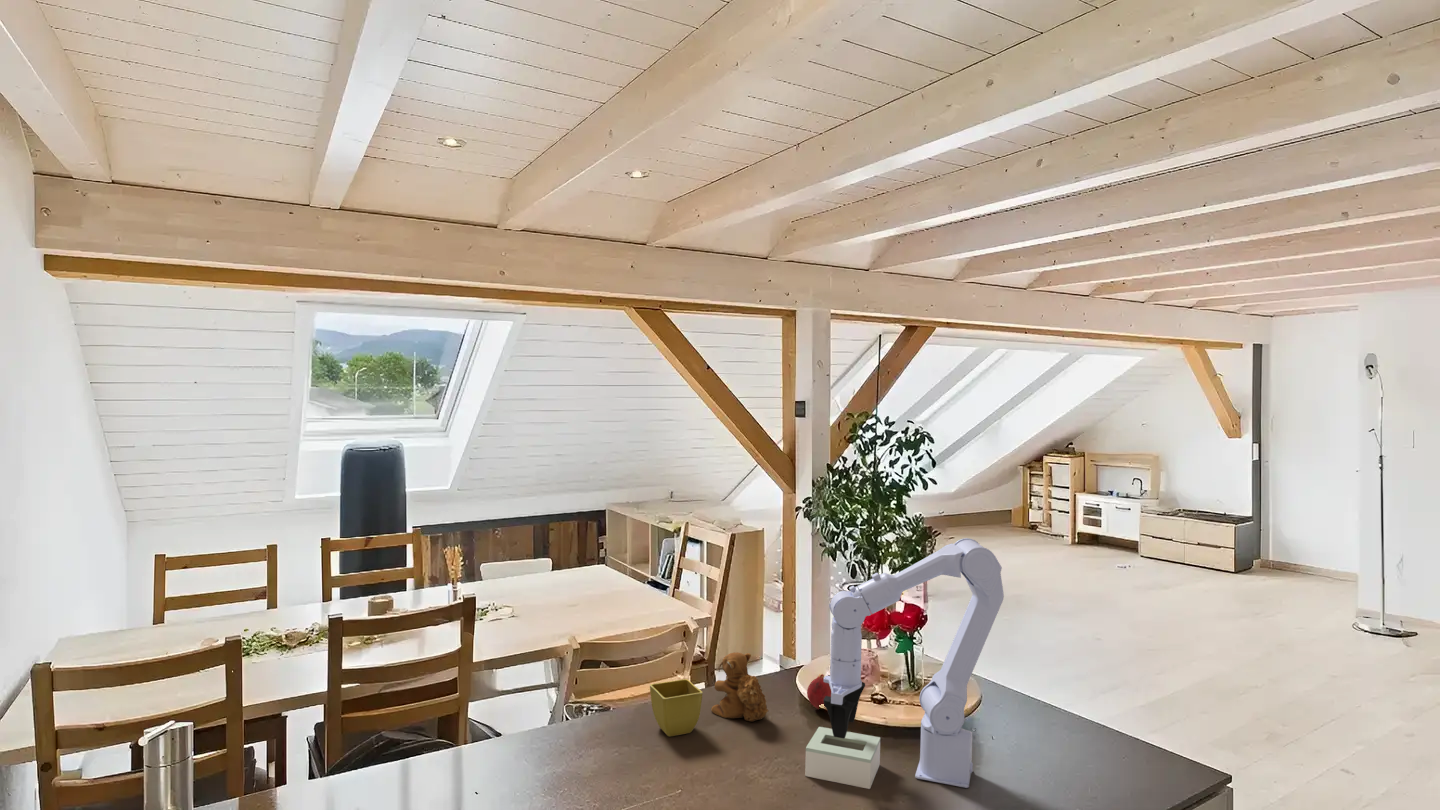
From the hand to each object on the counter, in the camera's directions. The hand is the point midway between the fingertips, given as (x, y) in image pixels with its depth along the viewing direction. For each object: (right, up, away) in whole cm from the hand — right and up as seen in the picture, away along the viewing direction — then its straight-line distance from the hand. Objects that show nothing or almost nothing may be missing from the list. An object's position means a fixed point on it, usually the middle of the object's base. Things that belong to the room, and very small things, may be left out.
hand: (844, 728), depth 151 cm
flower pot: (-33, -7, +16) cm, 37 cm away
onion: (-1, -7, +28) cm, 29 cm away
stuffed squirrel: (-18, -7, +25) cm, 32 cm away
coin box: (0, -8, 0) cm, 8 cm away
